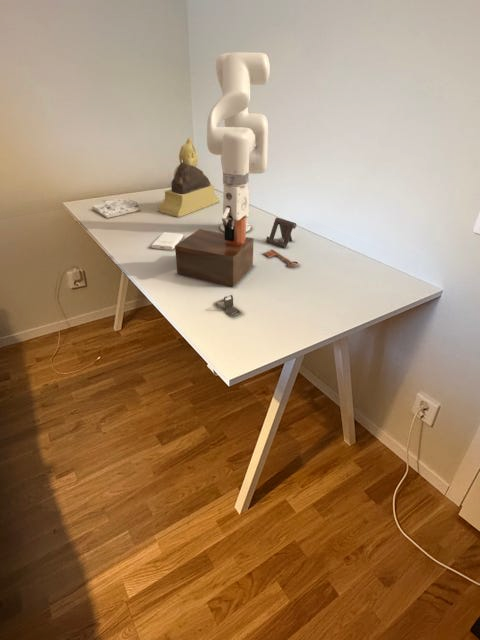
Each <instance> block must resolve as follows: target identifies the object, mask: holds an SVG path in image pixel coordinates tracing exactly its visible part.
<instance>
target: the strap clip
mask: <svg viewBox="0 0 480 640" xmlns="http://www.w3.org/2000/svg"><path fill="white" fill-rule="evenodd" d="M229 297H230V298H229ZM227 298H229V299H227ZM215 302H216V305H217V306H218V307H219V308H220V309H222V310H225V312H226V313H227V314H228V315H229V316H232V317H236V316H238V315H240V314H241V310H239V309H238V308H236V307H234V296H233V294H229V295H226V296H224V297H223V298H222V299H219V300H217V301H215Z"/></svg>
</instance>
